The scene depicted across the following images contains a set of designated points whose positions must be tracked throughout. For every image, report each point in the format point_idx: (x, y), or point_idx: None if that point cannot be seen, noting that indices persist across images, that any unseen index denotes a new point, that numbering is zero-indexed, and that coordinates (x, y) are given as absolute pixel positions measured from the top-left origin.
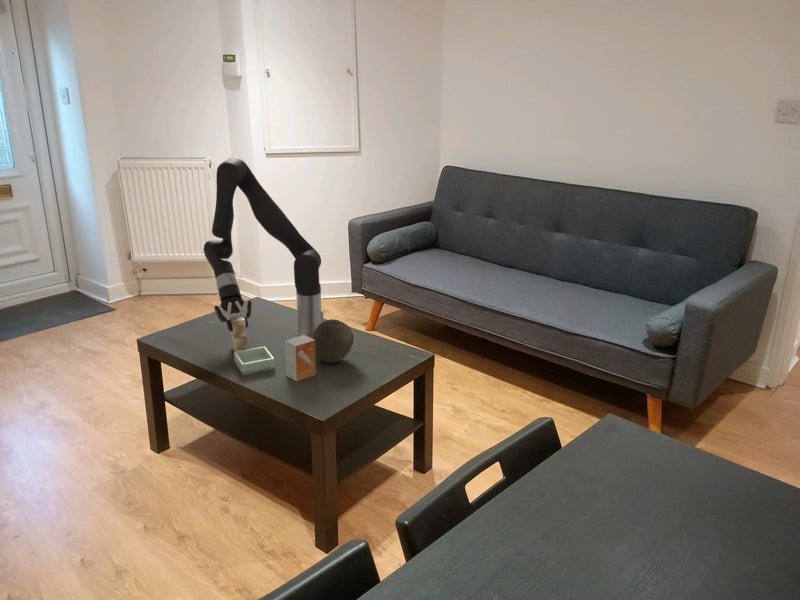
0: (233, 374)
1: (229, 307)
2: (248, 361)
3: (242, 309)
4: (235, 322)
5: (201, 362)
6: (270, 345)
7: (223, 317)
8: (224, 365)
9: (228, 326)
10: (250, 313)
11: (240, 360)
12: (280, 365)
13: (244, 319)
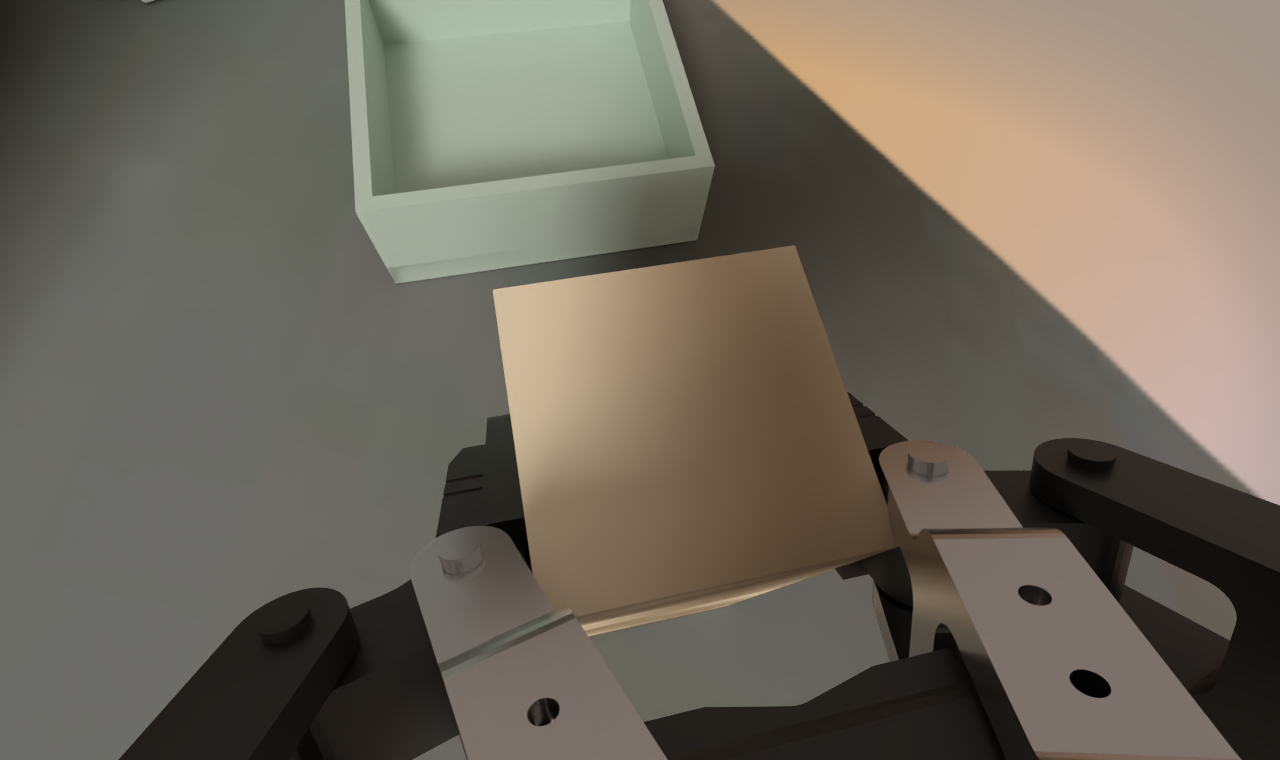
0: (708, 61)
1: (1113, 721)
2: (575, 164)
3: (468, 687)
4: (729, 269)
5: (1003, 316)
6: (255, 562)
7: (1078, 454)
8: (786, 211)
9: (856, 402)
10: (239, 635)
11: (655, 1)
12: (313, 100)
13: (509, 307)
